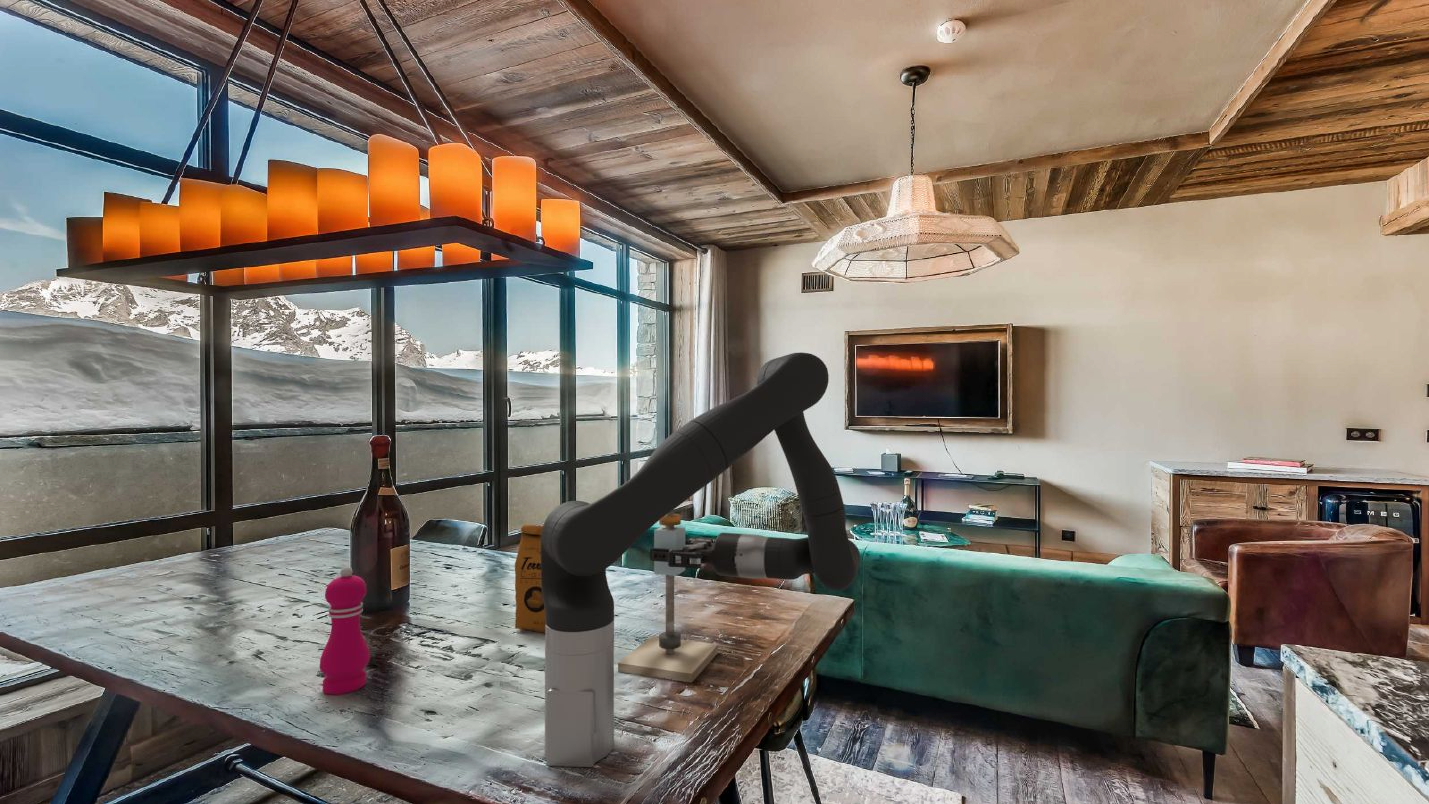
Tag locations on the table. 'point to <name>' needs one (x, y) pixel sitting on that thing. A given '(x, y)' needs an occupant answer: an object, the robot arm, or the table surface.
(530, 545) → the coffee package
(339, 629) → the pepper mill
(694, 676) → the rod stand
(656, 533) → the sleeve
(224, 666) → the table surface
